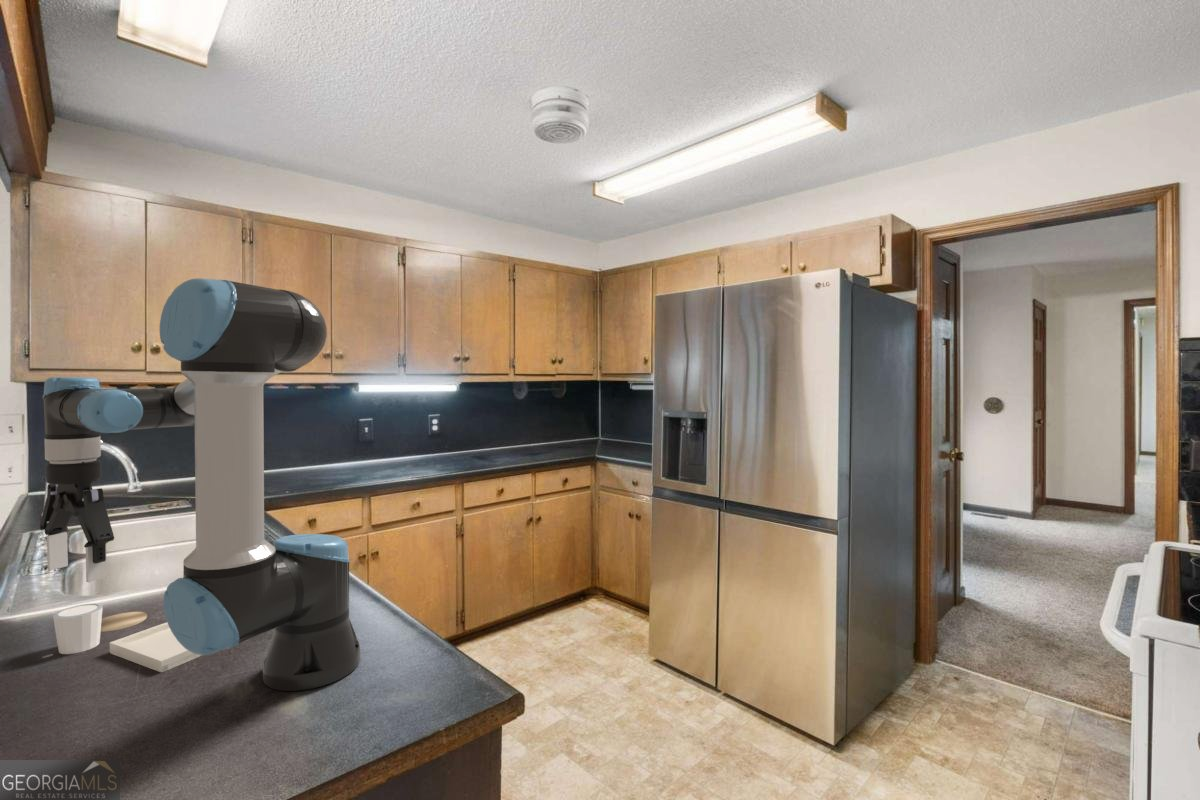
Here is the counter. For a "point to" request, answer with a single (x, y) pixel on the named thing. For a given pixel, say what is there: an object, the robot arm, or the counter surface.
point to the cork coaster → (122, 621)
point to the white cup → (78, 628)
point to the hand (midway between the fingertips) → (76, 573)
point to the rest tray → (153, 649)
